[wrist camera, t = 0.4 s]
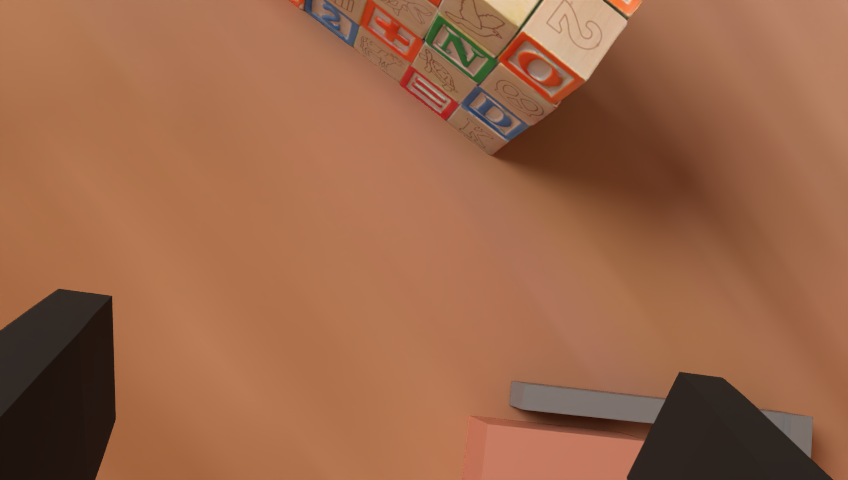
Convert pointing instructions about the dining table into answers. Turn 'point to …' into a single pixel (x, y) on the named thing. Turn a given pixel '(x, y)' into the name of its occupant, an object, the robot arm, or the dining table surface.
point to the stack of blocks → (481, 53)
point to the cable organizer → (632, 408)
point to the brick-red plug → (545, 452)
